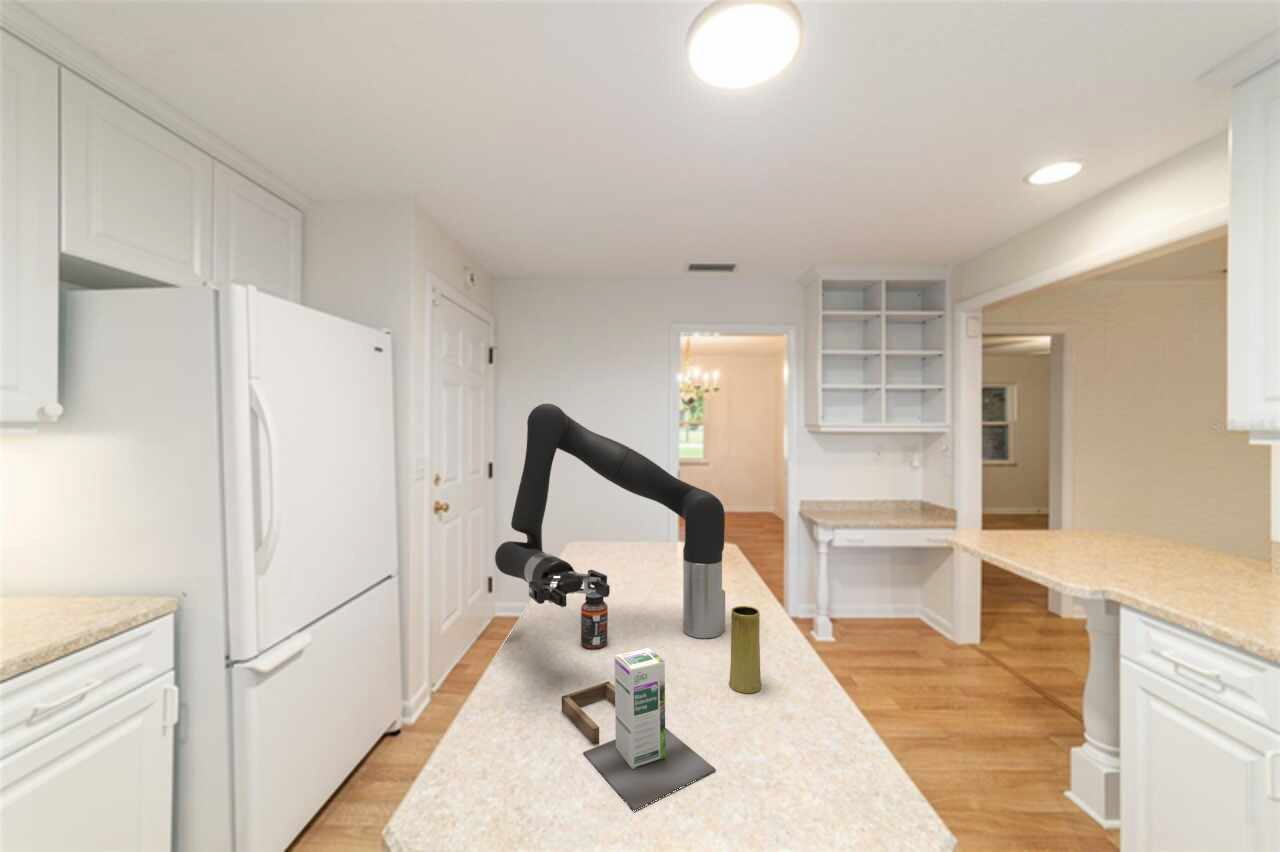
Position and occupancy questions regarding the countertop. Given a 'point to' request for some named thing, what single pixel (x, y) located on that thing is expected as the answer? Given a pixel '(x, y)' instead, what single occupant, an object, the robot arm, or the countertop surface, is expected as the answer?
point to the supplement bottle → (594, 621)
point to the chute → (627, 782)
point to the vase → (745, 650)
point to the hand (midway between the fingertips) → (586, 596)
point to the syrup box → (640, 707)
